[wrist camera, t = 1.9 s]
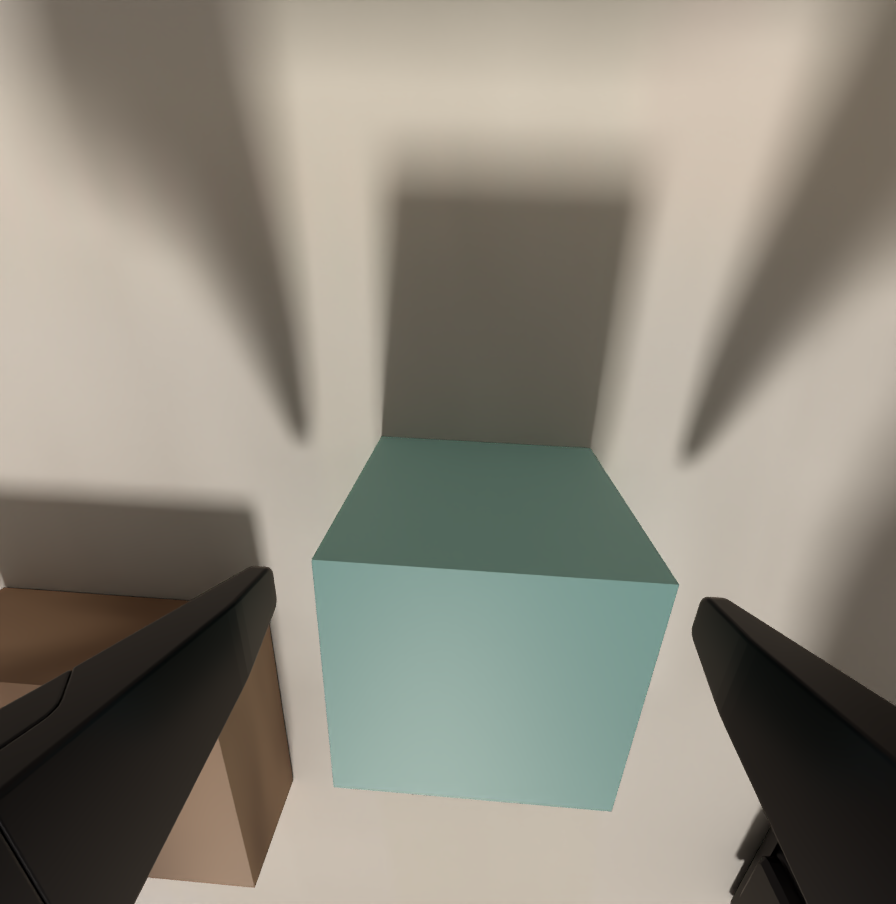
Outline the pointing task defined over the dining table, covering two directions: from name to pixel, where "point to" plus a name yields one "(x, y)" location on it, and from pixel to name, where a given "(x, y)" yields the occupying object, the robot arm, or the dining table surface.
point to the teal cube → (487, 624)
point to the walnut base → (231, 760)
